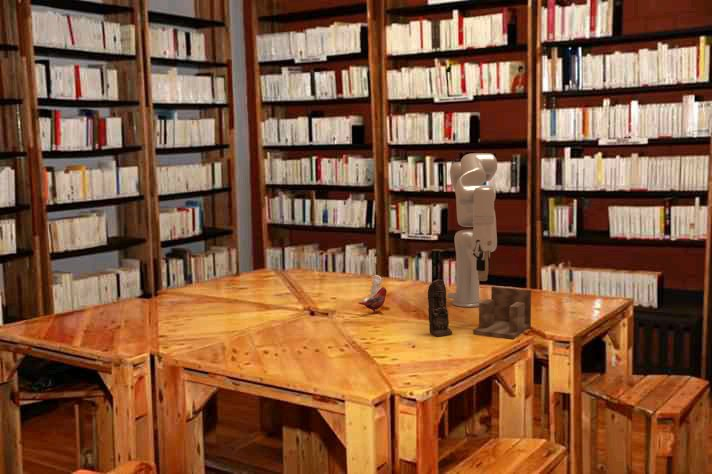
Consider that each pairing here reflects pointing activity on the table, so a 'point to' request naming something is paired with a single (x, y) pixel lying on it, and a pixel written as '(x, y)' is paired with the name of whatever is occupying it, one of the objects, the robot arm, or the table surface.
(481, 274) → the handle
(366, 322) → the table surface
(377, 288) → the white creature statuette
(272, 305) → the table surface
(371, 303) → the decorative bird figurine
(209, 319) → the table surface
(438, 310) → the statue
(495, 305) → the wooden stand
